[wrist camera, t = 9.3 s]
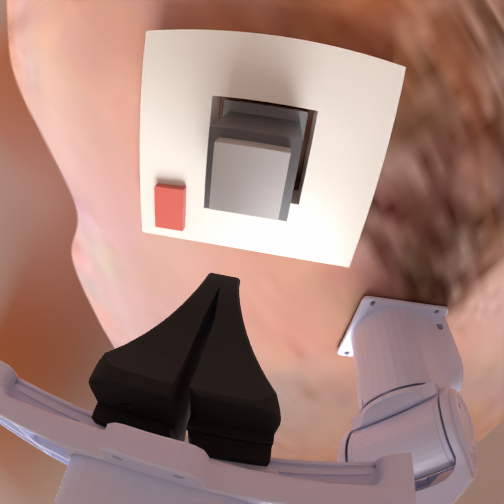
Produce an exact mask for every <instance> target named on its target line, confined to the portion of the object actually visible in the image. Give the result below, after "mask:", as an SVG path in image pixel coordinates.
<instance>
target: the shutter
mask: <svg viewBox="0 0 504 504" xmlns="http://www.w3.org/2000/svg"><path fill="white" fill-rule="evenodd" d="M229 111H230V112H238V113H246V114H253V115H260V116H267V117H273V118H280V119H285V120H291V121H297V122H300V125H301V131H302V136H303V138H304V133H305V128H306V122H307V117H308V111H303V110H297V109H292V108H286V107H280V106H274V105H267V104H261V103H253V102H246V101H237V100H229V99H225V100H224V105H223V114H222V116H224V115H225V114H226V113H228V112H229ZM302 144H303V143H302ZM301 149H302V148H301Z"/></svg>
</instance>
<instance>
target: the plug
mask: <svg viewBox="0 0 504 504" xmlns="http://www.w3.org/2000/svg"><path fill="white" fill-rule="evenodd" d="M302 143H303V136H302V131H301V125H300V122H297V121H291V120H285V119H280V118H273V117H267V116H260V115H253V114H246V113H238V112H230V111H229V112H228V113H226V114H225V115H224V116H222V117H221V118H220V119H218V120H217V121H216V122H214V123H213V124H212V125H210V130H209V141H208V153H207V166H206V180H205V194H204V208H209V209H212V210H218V211H225V212H231V213H237V214H243V215H249V216H255V217H261V218H267V219H273V220H281V221H287V218H288V213H289V208H290V204H291V199H292V194H293V189H294V184H295V179H296V174H297V169H298V164H299V159H300V154H301V148H302Z"/></svg>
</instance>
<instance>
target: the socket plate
mask: <svg viewBox="0 0 504 504" xmlns="http://www.w3.org/2000/svg"><path fill="white" fill-rule="evenodd" d="M405 70H406V67H404V66H401V65H398V64H395V63H392V62H389V61H386V60H383V59H379V58H376V57H373V56H370V55H366V54H362V53H359V52H355V51H351V50H347V49H343V48H339V47H335V46H331V45H326V44H322V43H317V42H312V41H306V40H301V39H295V38H289V37H283V36H275V35H268V34H259V33H250V32H239V31H224V30H196V29H178V30H150V31H146V37H145V47H144V58H143V70H142V86H141V107H140V192H141V214H142V231H143V232H146V233H152V234H157V235H163V236H169V237H175V238H181V239H187V240H193V241H198V242H204V243H210V244H216V245H222V246H228V247H233V248H239V249H245V250H251V251H257V252H263V253H268V254H274V255H280V256H286V257H292V258H297V259H303V260H309V261H315V262H321V263H326V264H332V265H338V266H344V267H349V266H350V263H351V260H352V258H353V255H354V252H355V249H356V247H357V244H358V241H359V238H360V235H361V232H362V229H363V226H364V223H365V220H366V217H367V214H368V211H369V208H370V205H371V202H372V199H373V196H374V192H375V189H376V186H377V182H378V179H379V176H380V172H381V169H382V165H383V162H384V158H385V155H386V151H387V147H388V143H389V140H390V136H391V132H392V128H393V124H394V120H395V116H396V111H397V107H398V103H399V98H400V94H401V89H402V84H403V80H404V75H405ZM221 96H223V97H232V98H241V99H249V100H257V101H264V102H270V103H277V104H283V105H289V106H294V107H300V108H305V109H310V110H314V114H313V119H312V124H311V129H310V134H309V140H308V145H307V150H306V155H305V160H304V165H303V170H302V174H301V179H300V184H299V189H298V190H295V189H293V194H292V199H291V204H290V208H289V213H288V218H287V221H281V220H273V219H267V218H261V217H255V216H249V215H243V214H237V213H231V212H225V211H218V210H212V209H209V208H204V194H205V180H206V166H207V153H208V141H209V130H210V125H212V124H213V123H214V122H216V121H217V120H218V117H219V108H220V99H221Z"/></svg>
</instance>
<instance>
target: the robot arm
mask: <svg viewBox="0 0 504 504" xmlns="http://www.w3.org/2000/svg"><path fill="white" fill-rule="evenodd" d="M239 285H240V280H239V279H238V278H235V277H230V276H225V275H220V274H215V273H210V274H208V276H207V277H206V279H205V280H204V281H203V282H202V284H201V285H200V286H199V287H198V288H197V290H196V291H195V292H194V293H193V294H192V295H191V296H190V297H189V298H188V299H187V300H186V301H185V302H184V303H183V304H182V305H181V306H180V307H179V308H178V309H177V310H176V311H175V312H174V313H172V314H171V315H170V316H169V317H168V318H166V319H165V320H164V321H162V322H161V323H160V324H159V325H157V326H156V327H154V328H153V329H151V330H150V331H148V332H147V333H145V334H143V335H142V336H140V337H138V338H136V339H135V340H133V341H131V342H129V343H127V344H125V345H123V346H121V347H118V348H116V349H114V350H111V351H109V352H106V353H105V354H104V355H103V356H102V358H101V359H100V360H99V362H98V364H97V365H96V367H95V369H94V371H93V373H92V375H91V377H90V379H89V384H90V388H91V390H92V391H93V393H94V395H95V397H96V399H97V401H98V403H97V405H96V408H95V410H94V412H90V411H87V410H85V409H83V408H80V407H78V406H76V405H73V404H71V403H69V402H67V401H64V400H62V399H60V398H58V397H56V396H53V395H52V394H49V393H47V392H45V391H43V390H41V389H39V388H37V387H35V386H34V385H32V384H30V383H28V382H26V381H24V380H22V379H21V378H19V377H18V376H17V374H16V373H15V371H14V370H13V369H12V368H11V367H10V366H9V365H7V364H5V363H4V362H2V361H0V424H1V425H3V426H4V427H6V428H7V429H8V430H10V431H12V432H13V433H14V434H16V435H17V436H19V437H21V438H22V439H24V440H25V441H27V442H28V443H30V444H31V445H33V446H35V447H36V448H38V449H40V450H41V451H43V452H45V453H46V454H48V455H50V456H52V457H53V458H55V459H57V460H59V461H60V462H62V463H64V464H66V465H68V466H67V469H66V472H65V475H64V477H63V480H62V482H61V485H60V488H59V490H58V493H57V496H56V499H55V501H54V504H454V503H455V502H456V501H457V500H458V498H459V497H460V496H461V495H462V494H463V493H464V492H465V490H466V489H467V488H468V487H469V486H470V484H471V483H472V481H473V480H474V478H475V477H476V474H477V469H478V466H479V456H478V452H477V448H476V440H475V433H474V428H473V424H472V421H471V418H470V415H469V412H468V409H467V407H466V404H465V402H464V400H463V398H462V396H461V394H460V393H459V392H460V390H461V387H462V382H463V364H462V360H461V357H460V354H459V352H458V349H457V346H456V344H455V341H454V339H453V336H452V334H451V331H450V329H449V326H448V324H447V321H446V319H445V317H446V315H447V313H448V308H447V307H445V306H437V305H430V304H422V303H415V302H408V301H401V300H394V299H387V298H380V297H373V296H365V297H363V298H362V300H361V302H360V304H359V307H358V309H357V311H356V313H355V315H354V317H353V319H352V321H351V323H350V325H349V327H348V329H347V332H346V334H345V336H344V337H343V339H342V341H341V343H340V345H339V347H338V349H337V353H338V354H339V355H343V356H353V358H354V367H355V375H356V385H357V394H358V405H359V414H358V415H356V416H354V417H352V429H351V430H349V431H347V432H346V433H345V434H344V436H343V437H342V439H341V442H340V446H339V450H338V462H328V461H307V460H293V459H282V458H272V457H271V448H272V445H273V441H274V434H275V432H276V431H277V429H278V427H279V425H280V422H281V415H280V407H279V402H278V398H277V395H276V392H275V391H274V389H273V388H272V386H271V385H270V383H269V381H268V380H267V378H266V376H265V375H264V373H263V371H262V369H261V367H260V365H259V363H258V361H257V359H256V357H255V355H254V352H253V350H252V347H251V345H250V342H249V339H248V336H247V333H246V329H245V326H244V322H243V317H242V312H241V306H240V298H239ZM372 301H374V302H373V303H371V302H372ZM190 413H191V414H190ZM189 416H190V417H189ZM186 430H188V438H189V443H187V442H184V440H185V435H186ZM452 466H453V467H452ZM450 467H452V468H450ZM448 468H450V469H448ZM445 469H447V470H445ZM442 470H445V471H442ZM440 471H442V472H440ZM437 472H440V473H437ZM435 473H437V474H435ZM432 474H435V475H432ZM429 475H432V476H429ZM426 476H429V477H427V478H424V477H426ZM421 478H424V479H421ZM418 479H421V480H418ZM415 480H418V481H415ZM414 481H415V482H414Z"/></svg>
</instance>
